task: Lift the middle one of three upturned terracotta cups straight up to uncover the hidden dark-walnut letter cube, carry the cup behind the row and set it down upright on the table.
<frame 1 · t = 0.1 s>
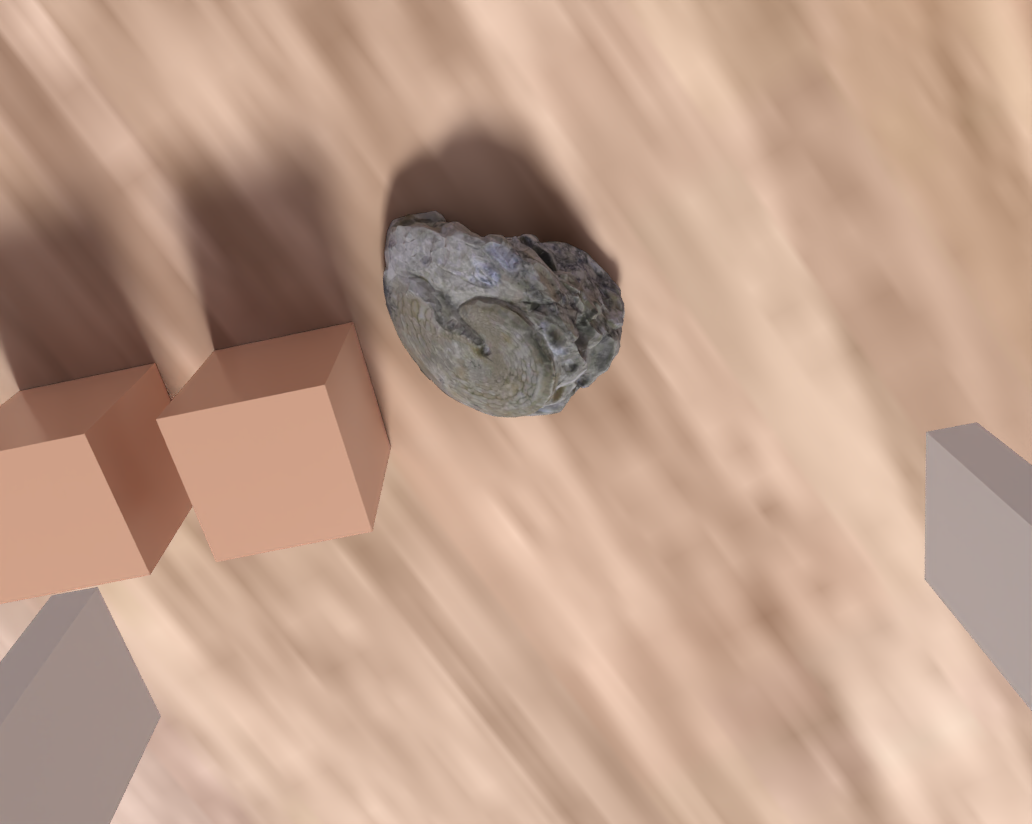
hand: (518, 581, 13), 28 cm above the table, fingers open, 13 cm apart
cover mid: (115, 439, 43), on the table
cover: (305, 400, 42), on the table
fossilized seashell: (504, 298, 41), on the table
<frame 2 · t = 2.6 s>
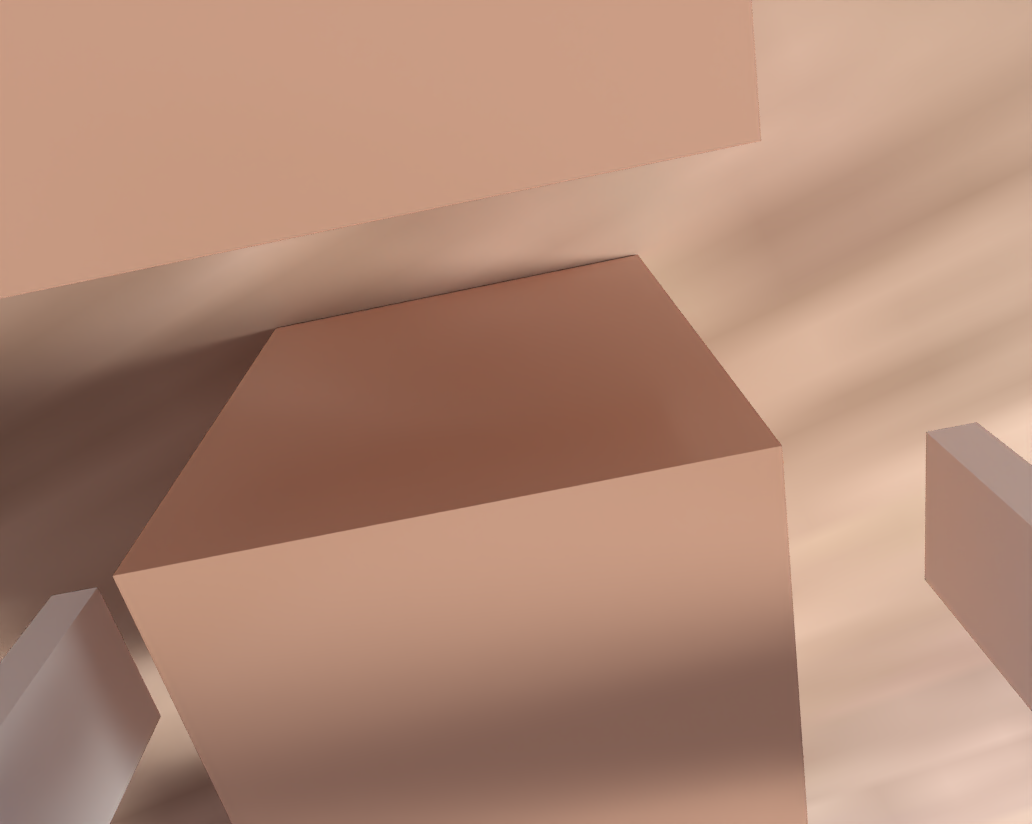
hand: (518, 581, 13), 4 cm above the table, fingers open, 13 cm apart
cover mid: (492, 452, 17), on the table
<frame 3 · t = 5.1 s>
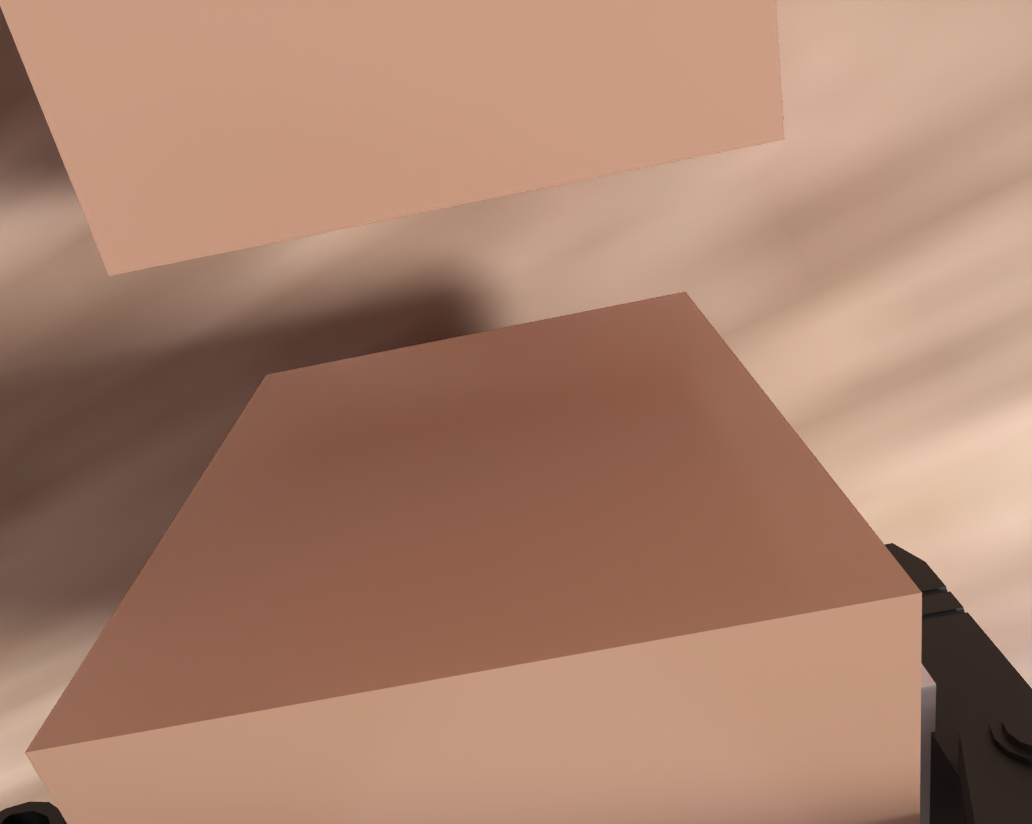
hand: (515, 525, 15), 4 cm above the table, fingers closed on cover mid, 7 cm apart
cover mid: (514, 514, 15), point 4 cm above the table, touching gripper
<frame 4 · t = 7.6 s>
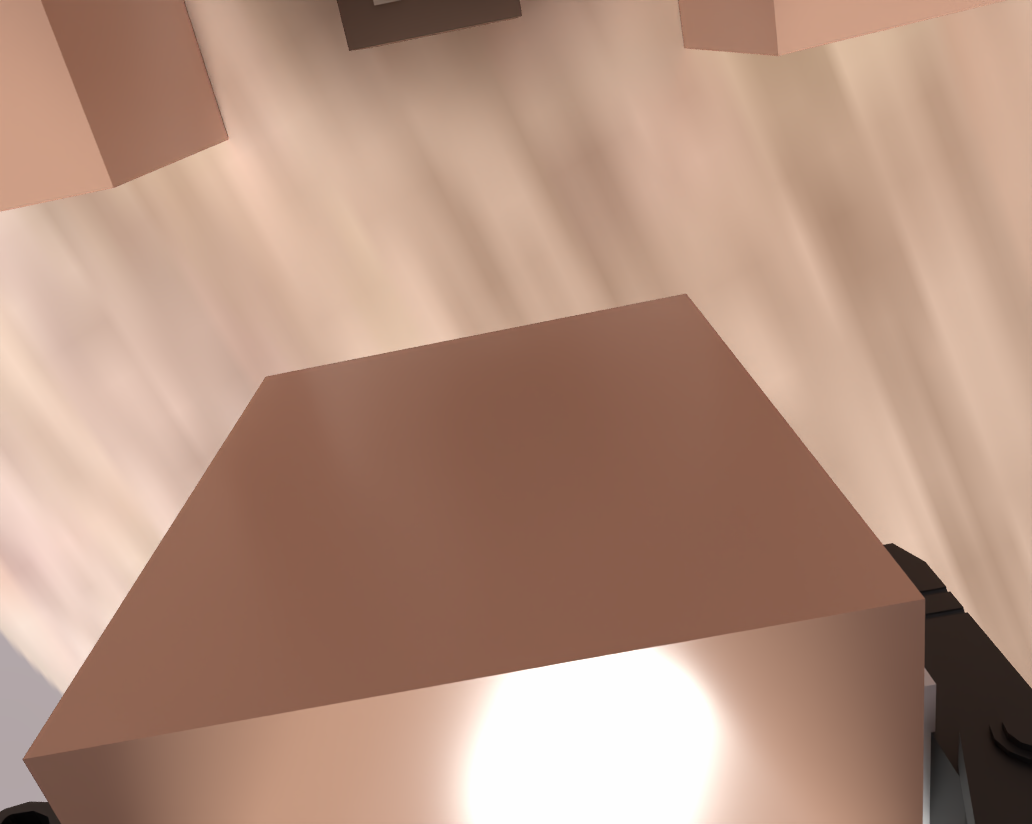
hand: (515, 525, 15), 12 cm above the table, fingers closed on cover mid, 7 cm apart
cover mid: (514, 516, 15), point 12 cm above the table, touching gripper
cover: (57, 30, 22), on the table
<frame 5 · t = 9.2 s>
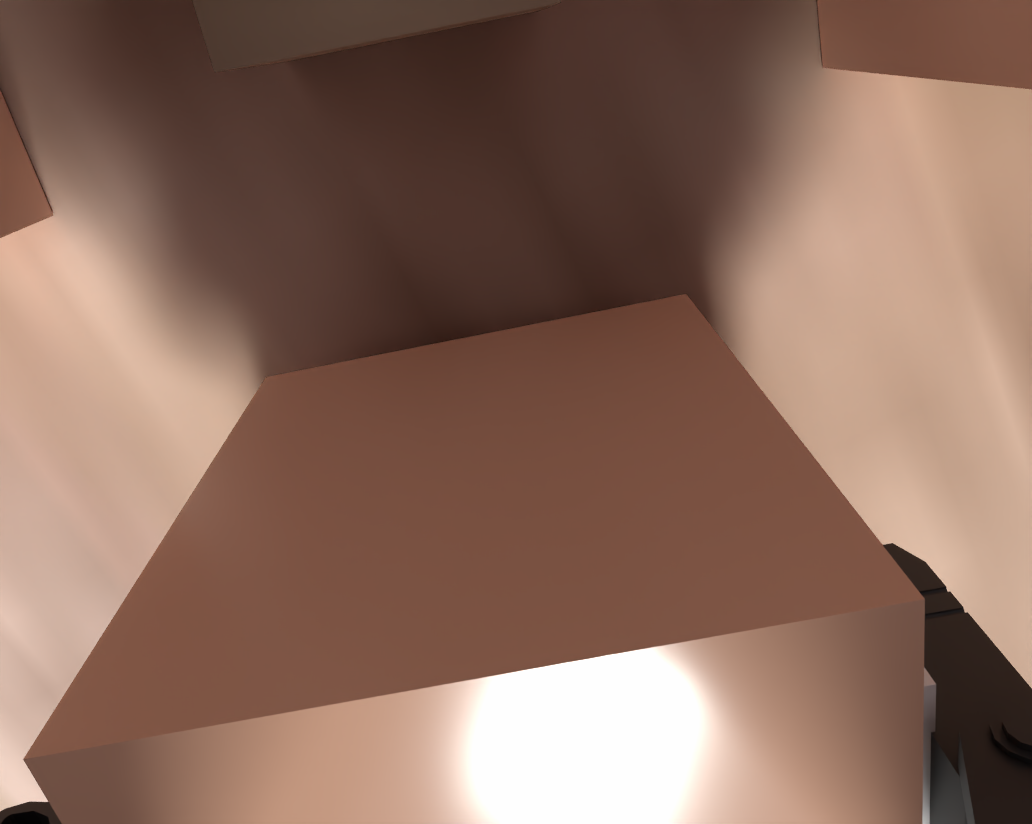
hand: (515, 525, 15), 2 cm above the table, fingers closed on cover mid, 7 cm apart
cover mid: (514, 516, 15), point 1 cm above the table, touching gripper
when the fingers open (1 cm above the table, at t = 10.3 s): cover mid stays where it is, on the table.
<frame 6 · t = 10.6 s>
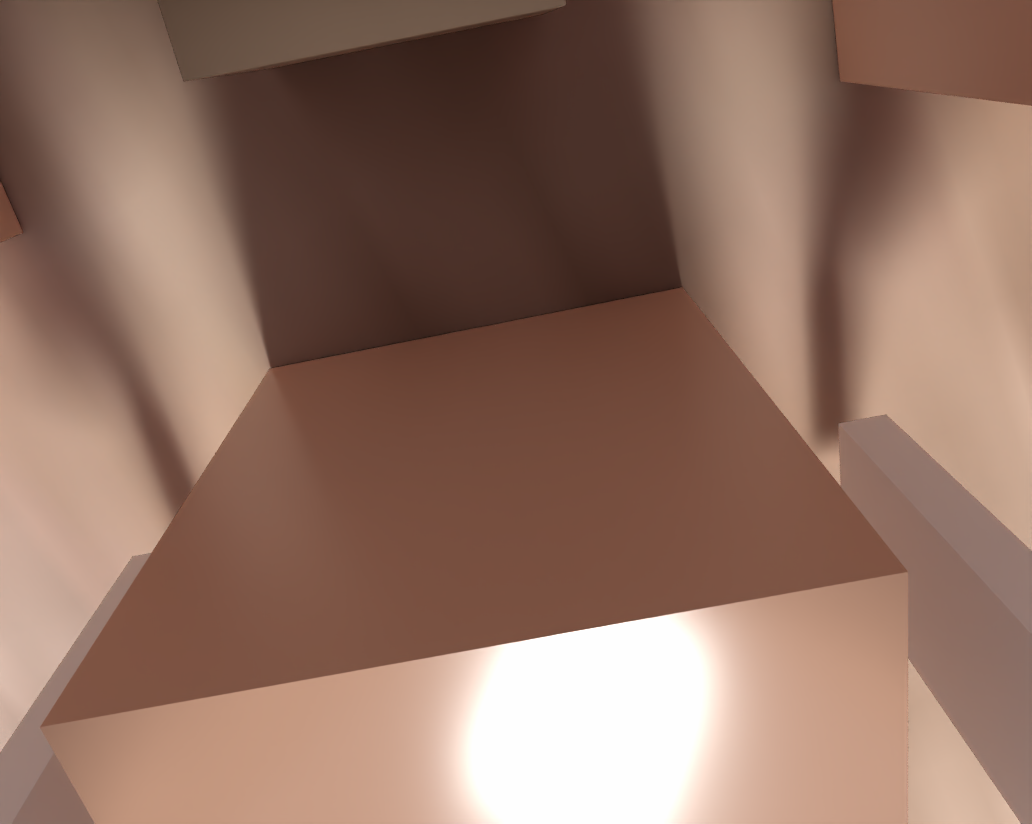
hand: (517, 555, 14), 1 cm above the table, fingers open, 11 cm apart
cover mid: (514, 506, 15), on the table
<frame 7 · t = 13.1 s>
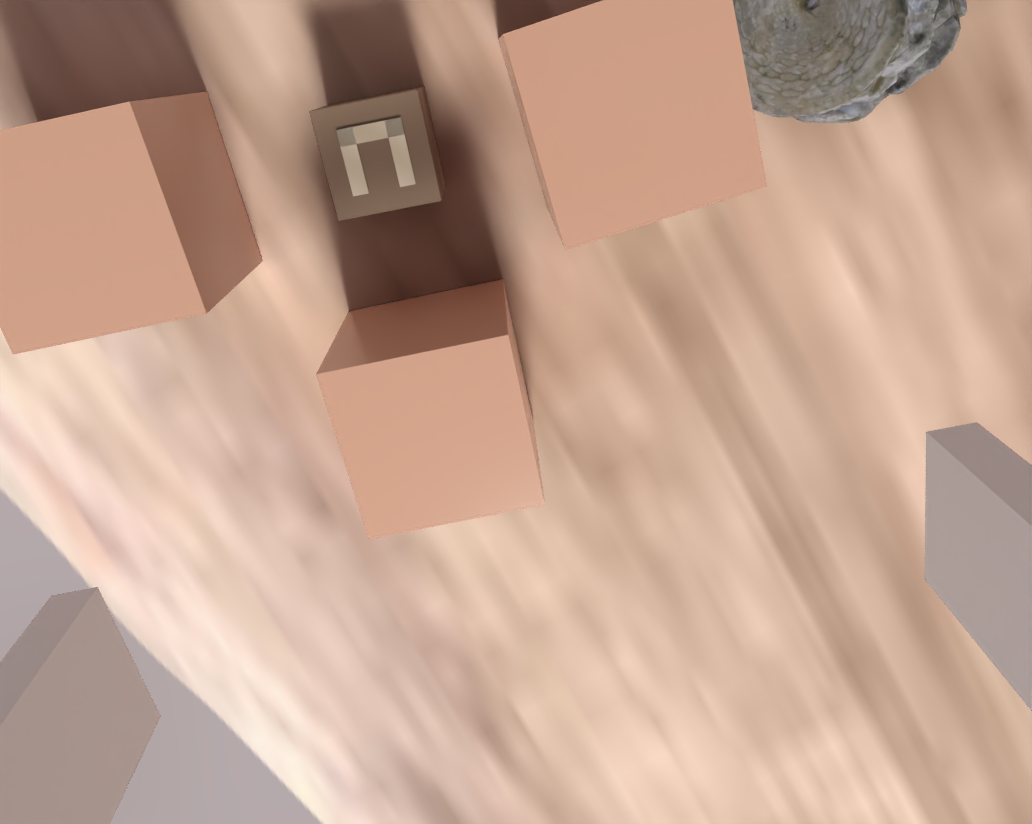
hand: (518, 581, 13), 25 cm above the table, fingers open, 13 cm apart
letter cube: (382, 151, 33), on the table
cover mid: (443, 367, 38), on the table
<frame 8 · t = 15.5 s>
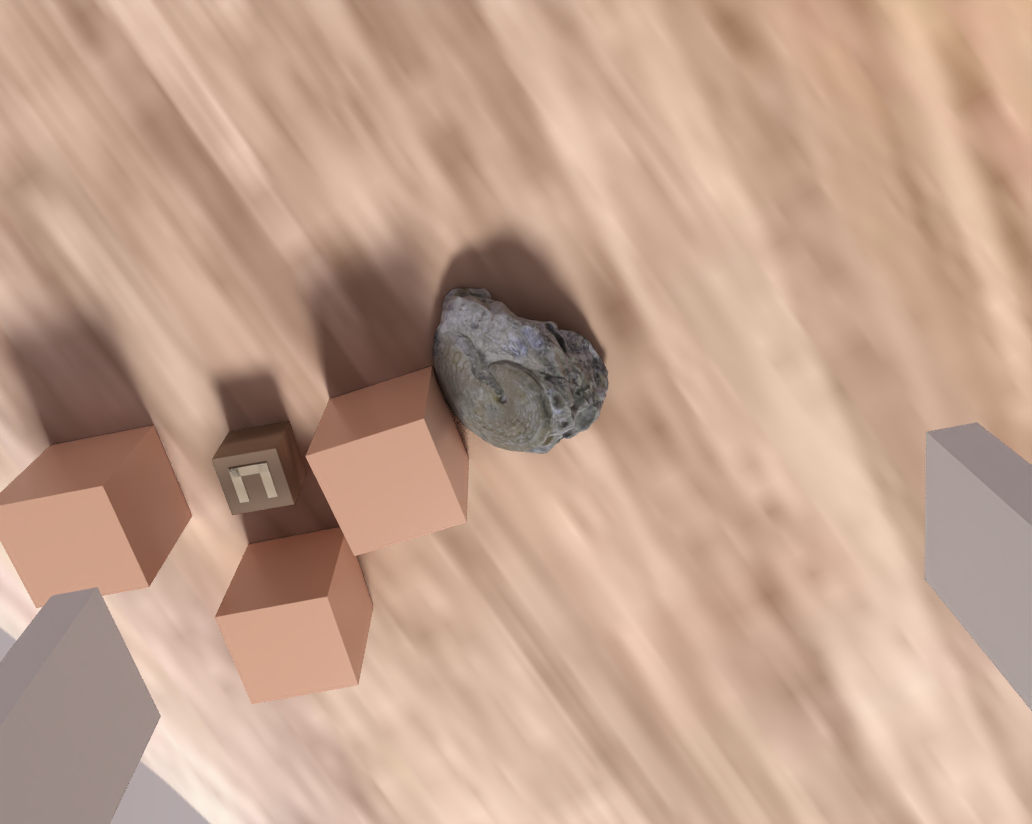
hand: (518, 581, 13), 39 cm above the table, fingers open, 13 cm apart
letter cube: (261, 467, 53), on the table
cover mid: (312, 576, 59), on the table
fossilized seashell: (519, 359, 54), on the table
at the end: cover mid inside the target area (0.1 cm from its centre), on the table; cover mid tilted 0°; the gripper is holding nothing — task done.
